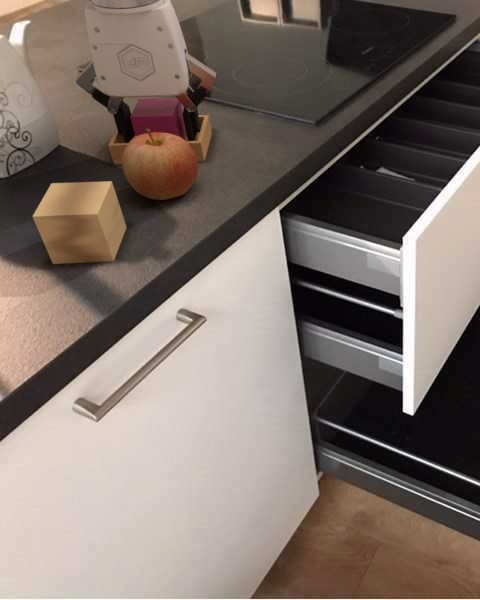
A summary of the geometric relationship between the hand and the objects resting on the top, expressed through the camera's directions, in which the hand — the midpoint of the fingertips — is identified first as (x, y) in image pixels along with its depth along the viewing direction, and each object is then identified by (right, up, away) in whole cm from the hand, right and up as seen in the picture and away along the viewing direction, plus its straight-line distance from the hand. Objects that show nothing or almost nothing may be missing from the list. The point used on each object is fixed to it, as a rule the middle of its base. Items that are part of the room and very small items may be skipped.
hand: (161, 137), depth 83 cm
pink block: (0, -1, +1) cm, 1 cm away
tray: (0, -1, +1) cm, 2 cm away
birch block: (-2, -15, -14) cm, 21 cm away
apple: (+3, -8, -6) cm, 11 cm away
